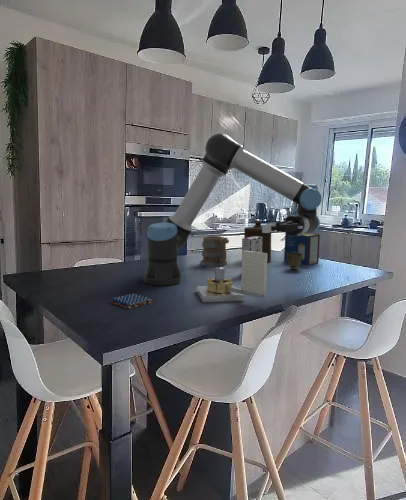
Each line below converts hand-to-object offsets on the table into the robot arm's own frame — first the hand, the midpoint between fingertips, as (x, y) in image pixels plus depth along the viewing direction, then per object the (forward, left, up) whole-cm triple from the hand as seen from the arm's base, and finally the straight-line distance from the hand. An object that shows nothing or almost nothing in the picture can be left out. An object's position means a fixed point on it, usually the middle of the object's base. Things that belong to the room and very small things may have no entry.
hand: (264, 228), depth 124 cm
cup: (+33, +48, -24) cm, 63 cm away
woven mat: (-44, +1, -25) cm, 50 cm away
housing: (-14, +5, -24) cm, 28 cm away
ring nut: (-9, 0, -22) cm, 24 cm away
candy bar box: (+10, +43, -24) cm, 50 cm away
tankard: (-2, +63, -24) cm, 67 cm away
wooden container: (+23, +74, -24) cm, 81 cm away
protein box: (+46, +68, -24) cm, 86 cm away
